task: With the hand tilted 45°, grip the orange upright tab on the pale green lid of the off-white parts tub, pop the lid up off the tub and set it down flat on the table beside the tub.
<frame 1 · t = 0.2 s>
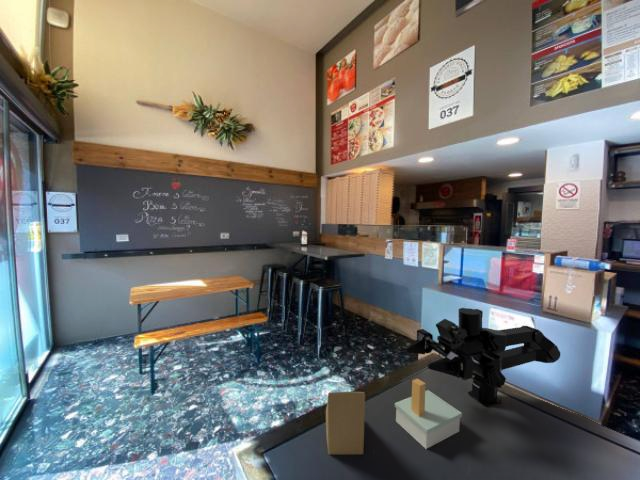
hand: (416, 358, 74), 17 cm above the table, tool horizontal, fingers open, 9 cm apart
tub: (426, 426, 71), on the table
lid: (427, 415, 71), point 3 cm above the table, touching tub
sandwich container: (342, 430, 70), on the table
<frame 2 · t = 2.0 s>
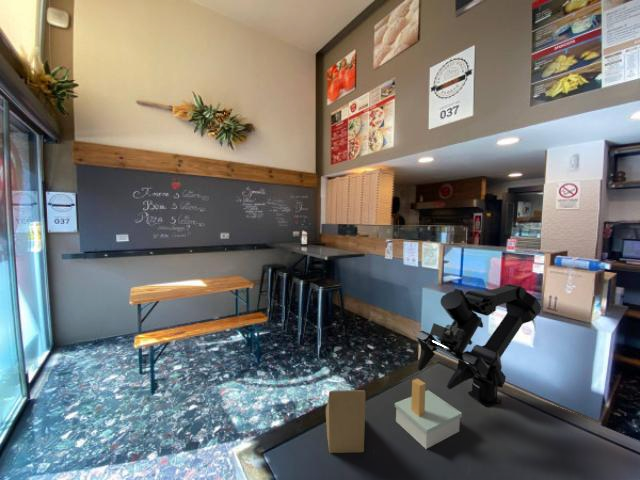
hand: (432, 378, 71), 13 cm above the table, tool tilted 45°, fingers open, 9 cm apart
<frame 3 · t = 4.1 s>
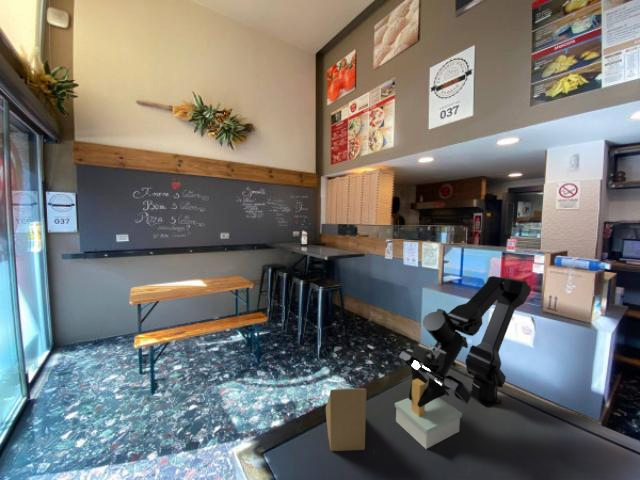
hand: (414, 402, 68), 8 cm above the table, tool tilted 45°, fingers closed on lid, 2 cm apart
lid: (427, 415, 71), point 3 cm above the table, touching gripper, tub
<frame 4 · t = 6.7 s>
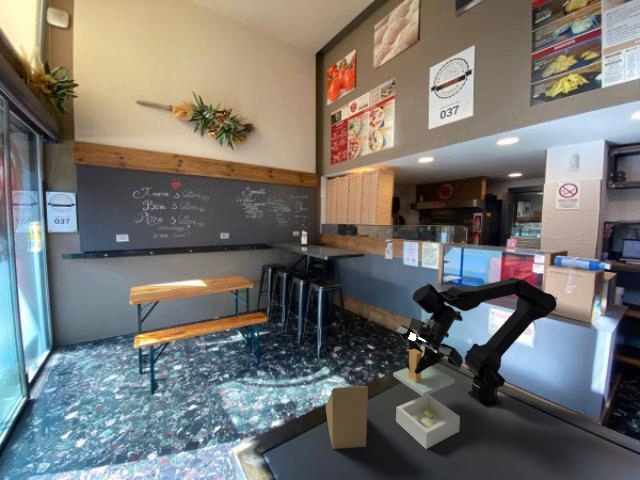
hand: (411, 370, 74), 13 cm above the table, tool tilted 45°, fingers closed on lid, 2 cm apart
lid: (423, 382, 77), point 8 cm above the table, touching gripper
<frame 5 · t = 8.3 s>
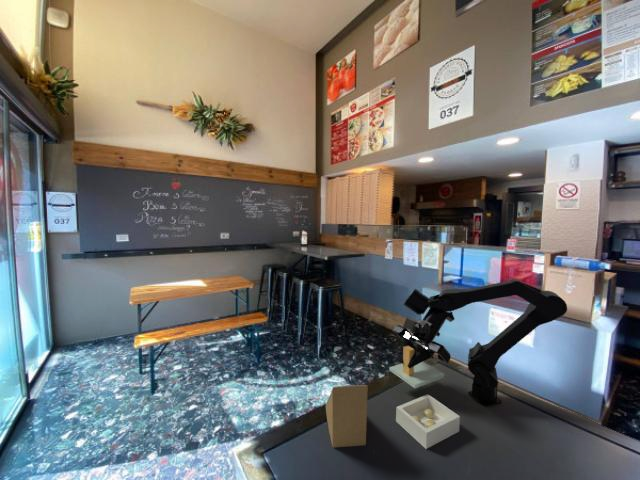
hand: (405, 365, 83), 10 cm above the table, tool tilted 45°, fingers closed on lid, 2 cm apart
lid: (416, 376, 85), point 5 cm above the table, touching gripper
when the fingers open (7 cm above the table, at t = 9.6 s): lid drops 2 cm, on the table.
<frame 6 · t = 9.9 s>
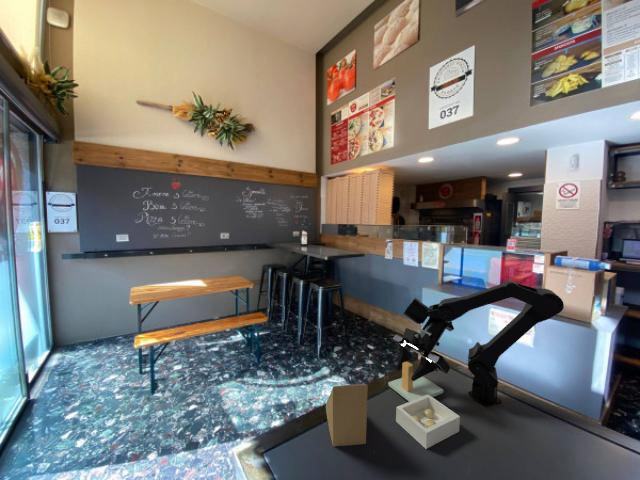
hand: (404, 375, 83), 7 cm above the table, tool tilted 45°, fingers open, 6 cm apart
lid: (415, 392, 86), on the table
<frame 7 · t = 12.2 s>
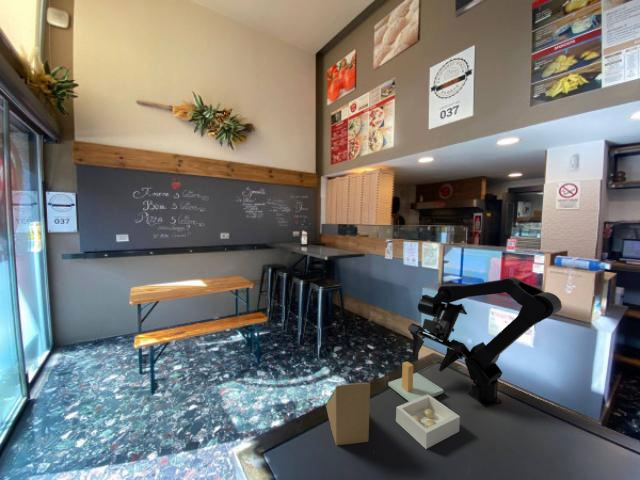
hand: (426, 364, 86), 9 cm above the table, tool tilted 40°, fingers open, 9 cm apart
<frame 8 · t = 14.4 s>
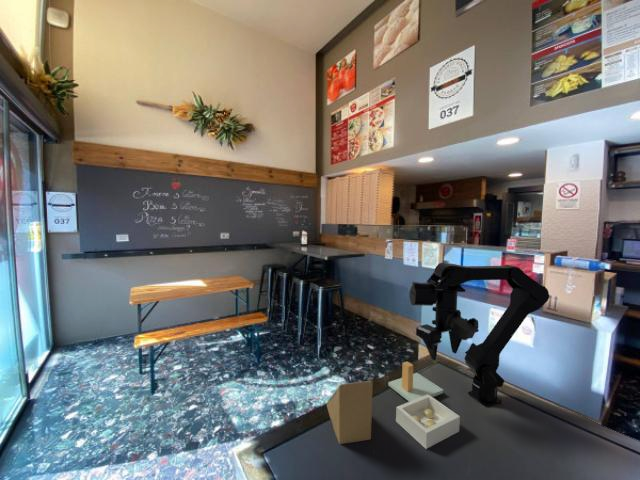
hand: (444, 356, 82), 13 cm above the table, tool pointing down, fingers open, 9 cm apart
at the end: lid inside the target area (0.2 cm from its centre), on the table; lid tilted 0°; the gripper is holding nothing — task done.
